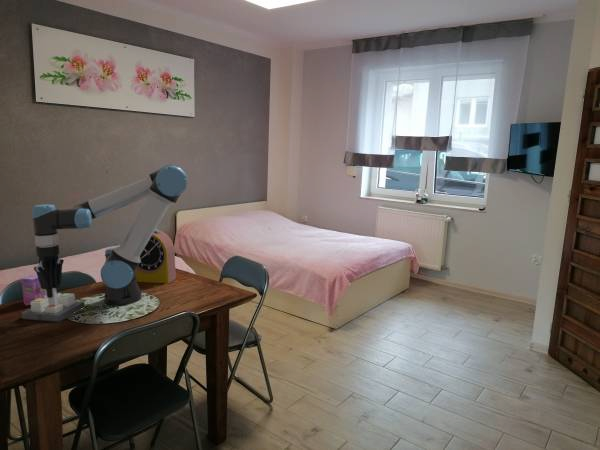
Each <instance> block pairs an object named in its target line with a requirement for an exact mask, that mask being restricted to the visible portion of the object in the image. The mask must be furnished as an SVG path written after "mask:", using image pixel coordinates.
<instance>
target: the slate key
mask: <svg viewBox="0 0 600 450" xmlns="http://www.w3.org/2000/svg"><path fill="white" fill-rule="evenodd" d="M62 294H63V293H62V292H57V297H58V296H60V295H62ZM44 299H48V297H47V295H45V296H44ZM57 302H58V300H57Z"/></svg>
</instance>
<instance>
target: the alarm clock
mask: <svg viewBox="0 0 600 450" xmlns="http://www.w3.org/2000/svg"><path fill="white" fill-rule="evenodd" d="M175 251H176V250H175V247H174V243H173V241H172V239H171V238H170V236H169V235H168V234H167V233H165V232H164V231H161V230H160V229H158V228H156V229H155V231H154V233H153V234H152V236H151V238H150V240H149V241H148V243H147V245H146V246H145V248H144V250H143V251H142V253H141V255H140V259H141V262H140V264H139V266H138V267H137V269H136V280H137V283H138V282H139V283H153V284H156V283H157V284H170V283H171V282H173V281H174V280H175V279H177V277H176V276H177V273H176V272H177V271H176V255H175Z"/></svg>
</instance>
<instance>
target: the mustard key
mask: <svg viewBox="0 0 600 450" xmlns="http://www.w3.org/2000/svg"><path fill="white" fill-rule="evenodd" d="M30 303H31V306H30V308H31V312H44V311H45V308H44V307H46V306H48V305H49V302H48V299H44V298H38V299H36V300H34V301H32V302H30Z"/></svg>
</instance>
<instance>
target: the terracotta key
mask: <svg viewBox="0 0 600 450" xmlns="http://www.w3.org/2000/svg"><path fill="white" fill-rule="evenodd" d="M44 308H45V313H57V312H59V311H61V310H63V304H57V305H48V306H46V307H44Z"/></svg>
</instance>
